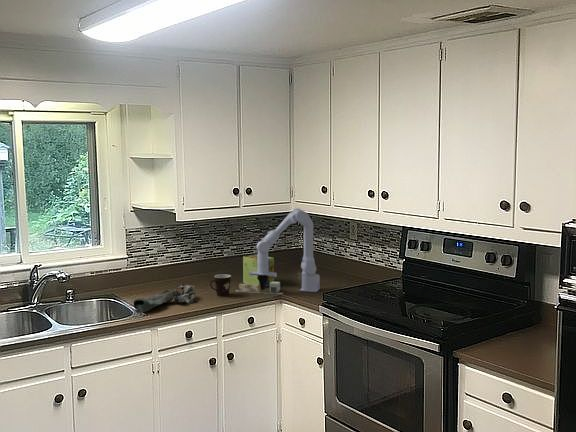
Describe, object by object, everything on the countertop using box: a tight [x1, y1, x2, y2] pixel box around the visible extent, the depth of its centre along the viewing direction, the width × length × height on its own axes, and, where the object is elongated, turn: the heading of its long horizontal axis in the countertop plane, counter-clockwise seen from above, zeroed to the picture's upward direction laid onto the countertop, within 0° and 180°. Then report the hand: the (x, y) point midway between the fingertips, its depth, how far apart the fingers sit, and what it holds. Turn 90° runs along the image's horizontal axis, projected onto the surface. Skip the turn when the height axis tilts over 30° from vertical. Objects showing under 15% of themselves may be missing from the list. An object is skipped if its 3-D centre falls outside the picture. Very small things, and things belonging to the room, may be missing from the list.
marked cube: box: [269, 281, 281, 293], centre depth 333 cm, size 4×5×4 cm
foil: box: [173, 283, 197, 305], centre depth 314 cm, size 12×11×15 cm
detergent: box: [133, 289, 175, 313], centre depth 304 cm, size 13×7×25 cm
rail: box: [234, 289, 284, 295], centre depth 330 cm, size 26×2×1 cm, turn 75°
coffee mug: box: [209, 273, 232, 297], centre depth 324 cm, size 12×9×10 cm
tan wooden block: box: [238, 283, 263, 294], centre depth 331 cm, size 12×3×4 cm, turn 75°
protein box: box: [242, 253, 275, 288], centre depth 348 cm, size 10×15×16 cm
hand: (263, 289), depth 329 cm, fingers closed
